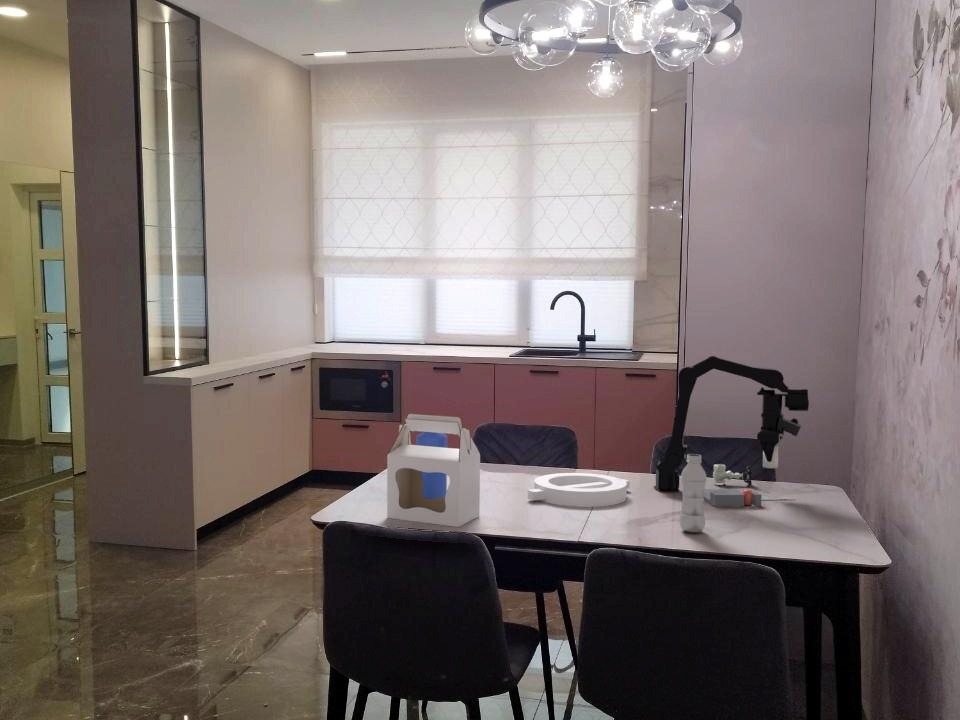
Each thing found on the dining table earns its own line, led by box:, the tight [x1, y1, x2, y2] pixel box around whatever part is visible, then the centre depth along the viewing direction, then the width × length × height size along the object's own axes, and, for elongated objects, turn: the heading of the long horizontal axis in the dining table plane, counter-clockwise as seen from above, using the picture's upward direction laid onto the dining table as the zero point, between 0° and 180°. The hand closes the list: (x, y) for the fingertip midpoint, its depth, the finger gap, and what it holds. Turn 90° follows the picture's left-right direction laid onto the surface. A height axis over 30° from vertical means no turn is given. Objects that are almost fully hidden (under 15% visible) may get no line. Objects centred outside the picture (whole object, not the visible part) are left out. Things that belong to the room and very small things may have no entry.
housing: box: [703, 488, 762, 508], centre depth 256 cm, size 14×19×4 cm
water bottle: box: [415, 432, 448, 499], centre depth 251 cm, size 9×9×25 cm
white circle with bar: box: [527, 472, 631, 508], centre depth 259 cm, size 28×28×5 cm
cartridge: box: [762, 442, 780, 469], centre depth 260 cm, size 5×5×8 cm
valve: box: [712, 463, 753, 486], centre depth 277 cm, size 7×7×12 cm
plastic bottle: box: [679, 453, 707, 534], centre depth 218 cm, size 6×7×20 cm
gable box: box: [386, 413, 481, 528], centre depth 230 cm, size 22×13×28 cm, turn 65°
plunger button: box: [742, 489, 753, 506], centre depth 249 cm, size 3×3×4 cm
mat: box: [761, 496, 790, 501], centre depth 260 cm, size 12×10×1 cm
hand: (770, 460), depth 260 cm, fingers closed on cartridge, 4 cm apart
